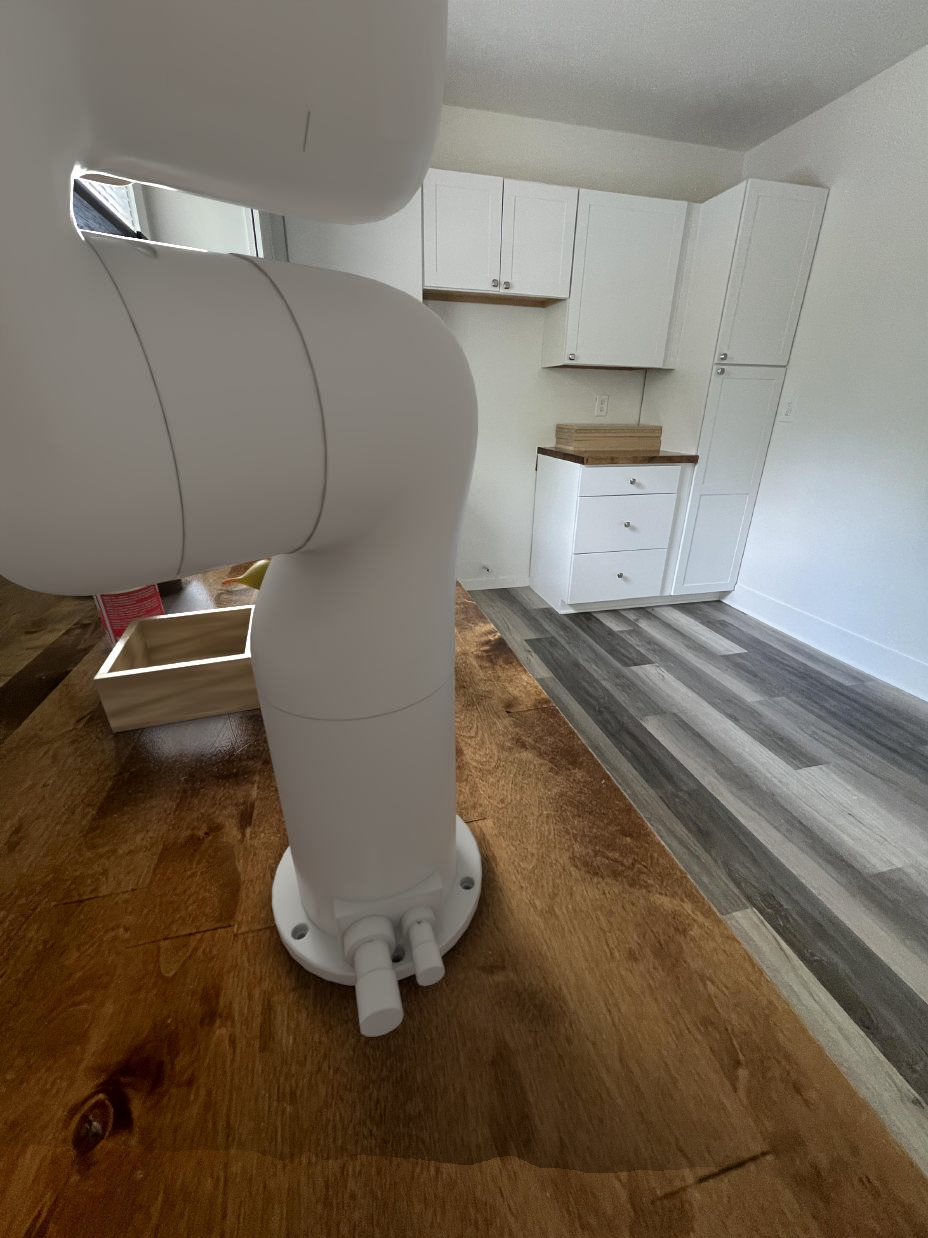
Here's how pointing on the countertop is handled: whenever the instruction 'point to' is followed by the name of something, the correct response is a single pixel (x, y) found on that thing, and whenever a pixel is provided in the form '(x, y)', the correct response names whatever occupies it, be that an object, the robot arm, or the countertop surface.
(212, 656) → the holder
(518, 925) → the countertop surface
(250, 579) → the neti pot
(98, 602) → the pill bottle
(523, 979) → the countertop surface
